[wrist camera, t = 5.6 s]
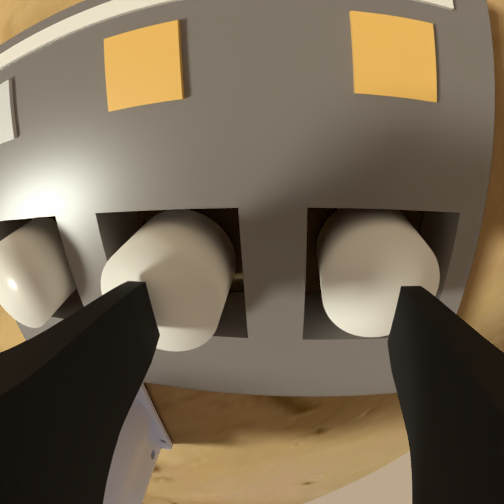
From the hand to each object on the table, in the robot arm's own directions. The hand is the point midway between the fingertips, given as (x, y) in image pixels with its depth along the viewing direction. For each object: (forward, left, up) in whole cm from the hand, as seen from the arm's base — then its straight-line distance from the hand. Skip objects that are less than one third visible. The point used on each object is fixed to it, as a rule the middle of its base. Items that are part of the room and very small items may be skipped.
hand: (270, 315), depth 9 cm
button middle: (0, +4, -3) cm, 5 cm away
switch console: (+2, +4, -5) cm, 6 cm away
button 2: (0, +10, -3) cm, 11 cm away
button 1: (0, -3, -4) cm, 6 cm away
